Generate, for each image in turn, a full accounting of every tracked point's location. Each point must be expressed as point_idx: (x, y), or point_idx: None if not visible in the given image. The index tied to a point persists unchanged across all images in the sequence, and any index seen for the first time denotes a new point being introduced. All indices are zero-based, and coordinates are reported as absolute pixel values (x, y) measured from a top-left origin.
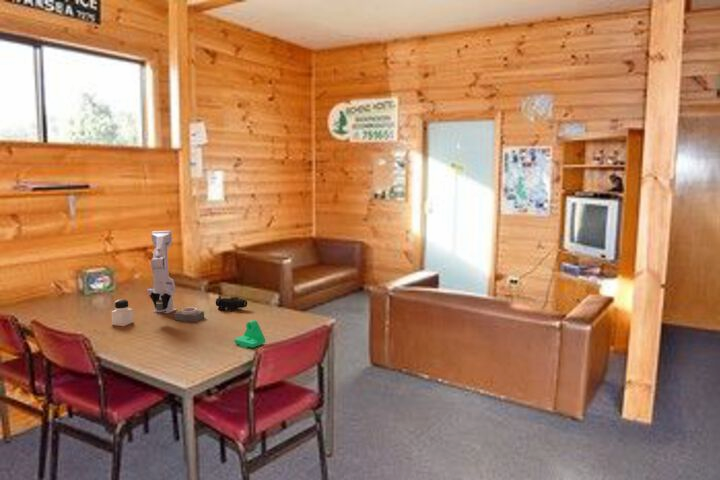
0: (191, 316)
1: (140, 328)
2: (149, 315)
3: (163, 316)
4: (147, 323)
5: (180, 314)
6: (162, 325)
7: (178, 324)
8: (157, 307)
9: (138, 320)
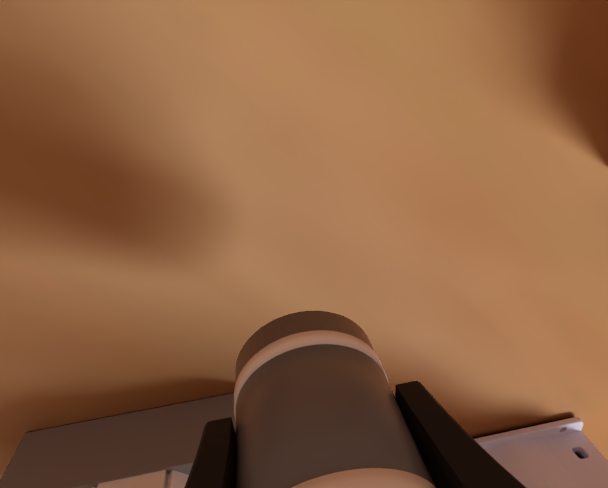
0: (34, 482)
1: (395, 22)
2: (565, 361)
3: (435, 396)
4: (443, 208)
5: (185, 460)
6: (233, 234)
7: (104, 330)
8: (333, 388)
9: (589, 233)
